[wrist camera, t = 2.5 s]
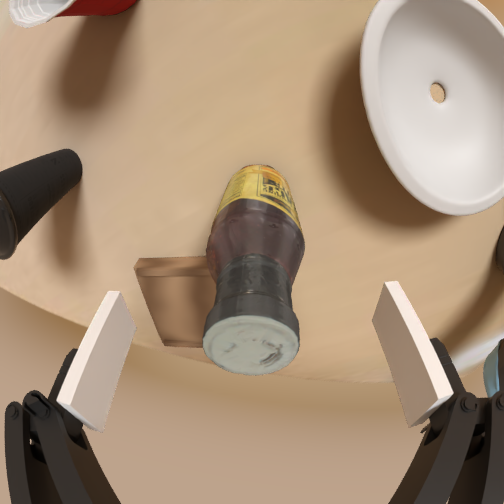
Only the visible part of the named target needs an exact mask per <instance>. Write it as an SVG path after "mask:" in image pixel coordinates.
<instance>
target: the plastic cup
mask: <svg viewBox="0 0 504 504" xmlns="http://www.w3.org/2000/svg"><path fill="white" fill-rule="evenodd" d="M136 1H137V0H9V14H10V16H11V18H12V20H13V22H14V24H16V25H19V26H22V27H25V28H29V27H32V26H35V25H39V24H42V23H45V22H48V21H50V20H51V19H52V18H54V17H60V16H90V15H101V16H106V15H114V14H118V13H120V12H123V11H125V10H127V9H128V8H129V7H131V6H132V5H133V4H134V3H135V2H136Z"/></svg>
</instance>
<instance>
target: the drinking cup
mask: <svg viewBox="0 0 504 504" xmlns="http://www.w3.org/2000/svg"><path fill="white" fill-rule="evenodd" d="M81 175H82V164H81V161H80V158H79V157H78V155H77V154H76V153H75V152H74V151H72V150H70V149H62V150H59V151H56V152H53V153H49V154H46V155H43V156H40V157H37V158H35V159H32V160H29V161H26V162H24V163H21V164H18V165H16V166H13V167H11V168H8V169H6V170H3V171H1V172H0V259H2V260H5V259H8V258H10V257H11V256H12V255H13V254H14V252H15V250H16V247H17V245H18V244H19V242H20V241H21V240H22V239H23V238H24V237H25V235H26V234H27V233H28V232H29V231H30V230H31V229H32V228H33V226H34V225H35V224H36V223H37V222H38V221H39V220H40V219H41V218H42V217H43V216H44V215H45V214H46V213H47V212H48V211H49V210H50V209H51V208H52V207H53V206H54V205H55V204H56V203H57V202H58V201H59V200H60V199H61V198H62V197H63V196H64V195H65V194H66V193H67V192H68V191H69V190H70V189H72V188H73V187H74V186H75V185H76V184H77V183H78V182H79V180H80V178H81Z"/></svg>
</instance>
